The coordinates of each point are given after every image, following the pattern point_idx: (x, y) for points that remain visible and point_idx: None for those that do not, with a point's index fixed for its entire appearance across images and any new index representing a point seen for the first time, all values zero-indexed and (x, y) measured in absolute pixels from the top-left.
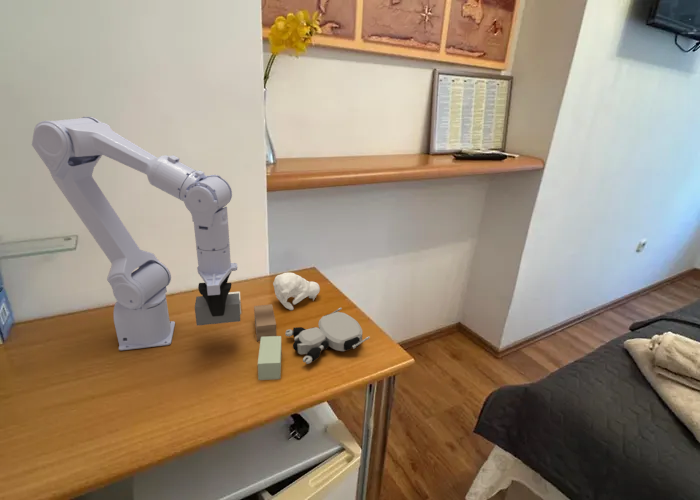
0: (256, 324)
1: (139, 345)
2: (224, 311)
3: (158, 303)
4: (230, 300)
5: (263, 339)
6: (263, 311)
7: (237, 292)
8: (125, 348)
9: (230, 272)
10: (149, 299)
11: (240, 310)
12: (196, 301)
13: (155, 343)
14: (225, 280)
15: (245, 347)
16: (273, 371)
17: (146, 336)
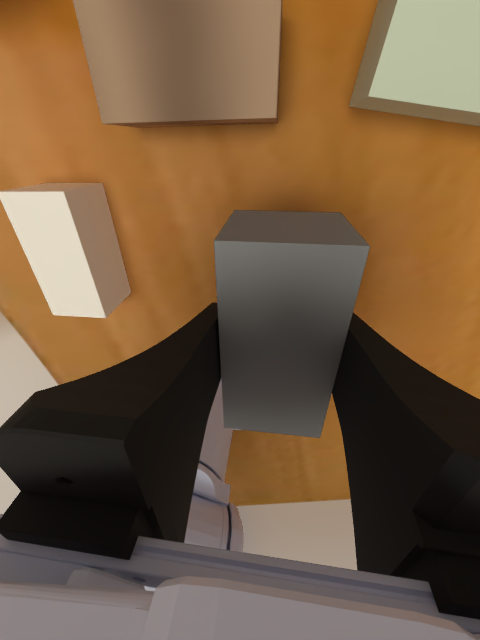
0: (259, 117)
1: None
2: (359, 318)
3: (201, 467)
4: (302, 299)
5: (397, 81)
6: (147, 66)
7: (7, 202)
8: None
9: (140, 419)
10: (198, 495)
11: (94, 187)
12: (266, 429)
13: None
14: (182, 386)
15: (300, 173)
16: None
17: None
